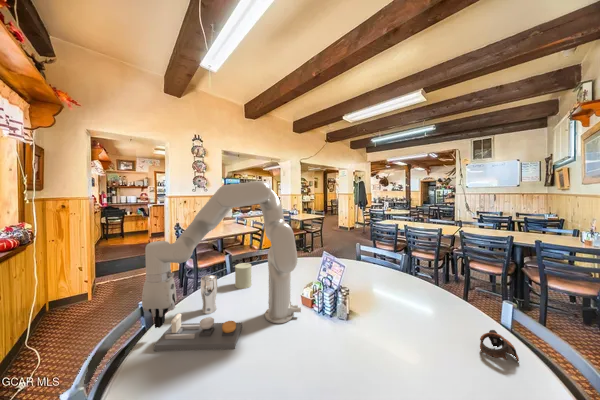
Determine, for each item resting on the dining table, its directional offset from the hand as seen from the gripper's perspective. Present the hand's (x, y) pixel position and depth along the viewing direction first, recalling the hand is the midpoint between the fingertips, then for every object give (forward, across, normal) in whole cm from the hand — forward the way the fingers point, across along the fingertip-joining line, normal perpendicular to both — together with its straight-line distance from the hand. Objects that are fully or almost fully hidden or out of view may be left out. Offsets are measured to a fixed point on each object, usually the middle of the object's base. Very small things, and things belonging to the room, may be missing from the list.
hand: (159, 325), depth 81 cm
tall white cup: (+5, -11, -19) cm, 23 cm away
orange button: (+3, -25, 0) cm, 25 cm away
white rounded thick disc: (+1, -17, 0) cm, 17 cm away
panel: (+5, -15, 0) cm, 16 cm away
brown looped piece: (+5, -118, +12) cm, 118 cm away
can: (+5, -21, -45) cm, 50 cm away
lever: (+3, -6, 0) cm, 7 cm away
